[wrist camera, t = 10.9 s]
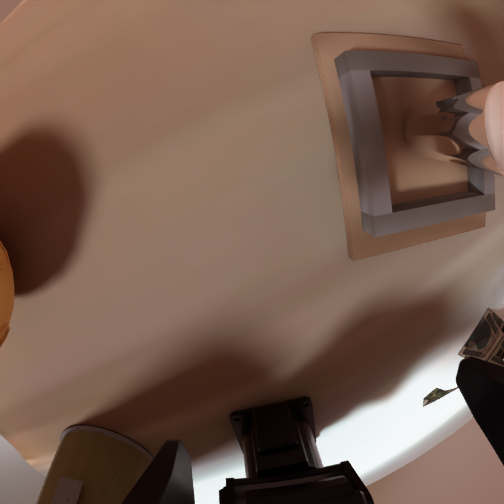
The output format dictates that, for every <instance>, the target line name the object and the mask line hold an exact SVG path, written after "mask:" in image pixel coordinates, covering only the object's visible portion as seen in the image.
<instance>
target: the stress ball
mask: <svg viewBox="0 0 504 504" xmlns="http://www.w3.org/2000/svg"><path fill="white" fill-rule="evenodd" d="M13 305H14V279H13V272H12V268H11V264H10V260H9V257H8V253H7V251H6V249H5V248H4V246H3V244H2V242H1V241H0V347H1V346H2V344H3V342H4V341H5V339H6V337H7V335H8V332H9V330H10V327H9V322H10V319H11V315H12V311H13Z"/></svg>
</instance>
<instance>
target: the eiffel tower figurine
mask: <svg viewBox="0 0 504 504" xmlns="http://www.w3.org/2000/svg"><path fill="white" fill-rule="evenodd" d="M458 355H460V356H462V357H463V358H467V357H469V356H473V357H476V358H479V359H482V360H485V361H488V362H491V363H495V364H498V365H501V366H504V360H503V359H504V321H503V320H502V319H500V318H499V317H498V316H497V315H496V314H495V313H494V312H493V311H492V310H490V309H489V308H488V309H487V311H486V312H485V314H484V316H483V317H482V319H481V321H480V322H479V324H478V325H477V327H476V328H475V330H474V331H473V333H472V334H471V336H470V337H469V339H468V340H467V342H466V343H465V345H464V346H463V347H462V349H461V350H460V352H459V353H458ZM457 388H458V387H457ZM457 388H454V389H450V390H447V391H445V390H442V389H439V388H436V389H434V390H433V391H432V392H431V393H430V394H429V395H427V396H426V397H425V398H424V401H423V407H424V406H426V405H428V404H430V403H432V402H434V401H436V400H438V399H439V398H441V397H443V396H445V395H446V394H448V393H450V392H452V391H454V390H455V389H457Z"/></svg>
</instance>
